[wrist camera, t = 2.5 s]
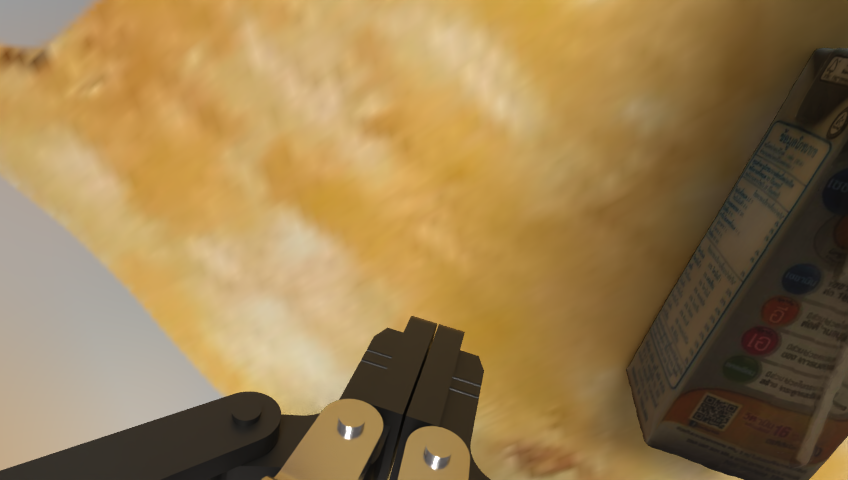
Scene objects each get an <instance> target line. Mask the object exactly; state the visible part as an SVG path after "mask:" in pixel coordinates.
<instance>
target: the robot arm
mask: <svg viewBox="0 0 848 480" xmlns="http://www.w3.org/2000/svg"><path fill="white" fill-rule="evenodd" d="M436 327H437V323H433V322H430V321H427V320H424V319H420V318H417V317H414V316H411V318H410V320H409V322H408V324H407V326H406V328H405V331H404V333H403V332H399V331H396V330H393V329H390V328H387V329H385V330H383V331H382V332H380V333H379V334H377V335H376V336H374V338H373V340H372V341H371V343H370V345H369V347H368V349H367V351H366V352H365V354H364V356H363V358H362V360H361V361H360V363H359V365H358V367H357V369H356V370H355V372H354V374H353V376H352V378H351V379H350V381H349V383H348V385H347V387H346V389H345V390H344V392H343V394H342V396H341V398H340V399H339V400H337V401H335V402H332V403H331V404H329V405H328V406H326V407H325V408H324V409H323V411H322V412H321V413H319V414H315V415H308V416H299V415H281V410H280V407H279V405H278V404H277V403H276V401H275V400H273V399H272V398H271V397H269V396H267V395H265V394H262V393H258V392H240V393H236V394H233V395H230V396H227V397H224V398H220V399H218V400H214V401H211V402H209V403H206V404H202V405H199V406H196V407H193V408H190V409H187V410H184V411H181V412H178V413H175V414H172V415H169V416H166V417H163V418H160V419H157V420H153V421H151V422H147V423H144V424H141V425H138V426H135V427H132V428H129V429H126V430H123V431H120V432H117V433H114V434H111V435H108V436H105V437H102V438H99V439H96V440H93V441H90V442H87V443H84V444H80V445H77V446H74V447H71V448H68V449H65V450H62V451H59V452H56V453H53V454H50V455H47V456H44V457H41V458H38V459H35V460H32V461H29V462H26V463H23V464H20V465H17V466H13V467H10V468H7V469H4V470H1V471H0V480H387V479H388V477H389V474H390V471H391V468H392V465H393V468H392V472H391V476H390V480H490V479H489V478H488V477H487V476H485V475H484V474H483V473H482V472H481V470H480V469H479V468H478V467H477V465H476V463H475V462H474V460H473V457H472V454H471V449H470V443H471V437H472V432H473V426H474V421H475V416H476V410H477V405H478V400H479V394H480V389H481V384H482V378H483V373H484V370H483V367H482V364H481V362H480V359H479V356H476V355H473V354H470V353H467V352H464V351H460V347H461V344H462V340H463V336H464V333H465V332H463V331H460V330H456V329H453V328H450V327H447V326H443V325H440V324H439V326H438V329H437V331H436ZM435 331H436V334H435ZM434 335H435V337H434ZM433 338H434V340H433ZM393 462H394V464H393Z"/></svg>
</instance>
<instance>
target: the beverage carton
mask: <svg viewBox="0 0 848 480" xmlns="http://www.w3.org/2000/svg"><path fill="white" fill-rule="evenodd" d="M626 371H627V375H628V379H629V384H630V386H631V389H632V395H633V400H634V404H635V407H636V412H637V417H638V420H639V423H640V428H641V430H642V433H643V438H644V441H645V442H646V443H647V445H648V446H650V447H652V448H655V449H659V450H662V451H665V452H667V453H671V454H675V455H678V456H680V457H683V458H685V459H688V460H690V461H693V462H696V463H699V464H701V465H703V466H705V467H707V468H709V469H712V470H715V471H718V472H722V473H724V474H727V475H730V476H734V477H738V478H741V479H744V480H809V479H810V478H811V477H812V476H813V475H814V474H815V473H816V472H817V470H818V469H819V468H820V467H821V466H822V465H823V464H824V463H825V462H826V461H827V459H828V458H829V457H830V456H831V455H832V454H833V452H834V451H835V450H836V449H837V448H838V446H839V445H840V444H841V443H842V442H843V441H844V440H845V439H846V438H847V436H848V48H838V49H832V48H820V49H816V50H815V51H814V53H813V54H812V56H811V58H810V60H809V61H808V63H807V65H806V66H805V68H804V70H803V71H802V73H801V75H800V76H799V78H798V79H797V81H796V83H795V84H794V86H793V88H792V89H791V91H790V93H789V95H788V97H787V99H786V100H785V102H784V104H783V105H782V107H781V109H780V111H779V112H778V114H777V116H776V117H775V119H774V121H773V122H772V124H771V126H770V127H769V129H768V131H767V132H766V134H765V136H764V138H763V139H762V141H761V142H760V144H759V146H758V147H757V149H756V150H755V152H754V154H753V155H752V157H751V159H750V160H749V162H748V164H747V165H746V167H745V169H744V171H743V172H742V174H741V176H740V178H739V179H738V181H737V183H736V184H735V186H734V188H733V189H732V191H731V193H730V194H729V196H728V198H727V199H726V201H725V203H724V205H723V206H722V208H721V210H720V212H719V213H718V215H717V217H716V218H715V220H714V222H713V223H712V225H711V226H710V228H709V230H708V231H707V233H706V235H705V236H704V238H703V239H702V241H701V243H700V244H699V246H698V248H697V250H696V251H695V253H694V255H693V256H692V258H691V260H690V261H689V263H688V265H687V267H686V268H685V270H684V272H683V273H682V275H681V277H680V278H679V280H678V282H677V283H676V285H675V287H674V288H673V290H672V292H671V294H670V295H669V297H668V299H667V300H666V302H665V304H664V306H663V307H662V309H661V311H660V312H659V314H658V316H657V318H656V319H655V321H654V323H653V325H652V327H651V328H650V330H649V332H648V333H647V335H646V337H645V338H644V340H643V342H642V344H641V346H640V348H639V349H638V351H637V352H636V354H635V356H634V358H633V360H632V362H631V364H630V365H629V367H628V368H627V369H626Z"/></svg>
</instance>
